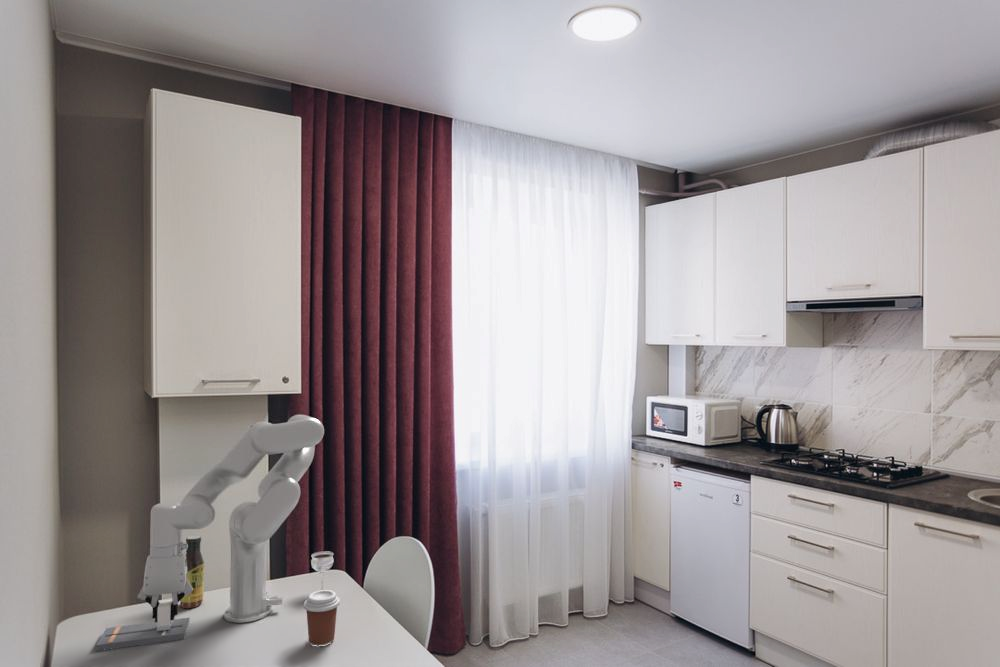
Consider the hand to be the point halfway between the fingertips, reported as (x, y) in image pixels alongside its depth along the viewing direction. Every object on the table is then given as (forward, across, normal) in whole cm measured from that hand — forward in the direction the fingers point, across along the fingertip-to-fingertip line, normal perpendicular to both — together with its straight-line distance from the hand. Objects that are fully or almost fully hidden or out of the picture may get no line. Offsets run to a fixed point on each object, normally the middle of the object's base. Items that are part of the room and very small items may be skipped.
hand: (165, 618), depth 165 cm
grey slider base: (+4, +5, 0) cm, 6 cm away
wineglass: (+4, -41, -14) cm, 44 cm away
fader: (+2, 0, 0) cm, 2 cm away
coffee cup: (+4, -39, +18) cm, 43 cm away
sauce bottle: (+4, -4, -18) cm, 19 cm away
